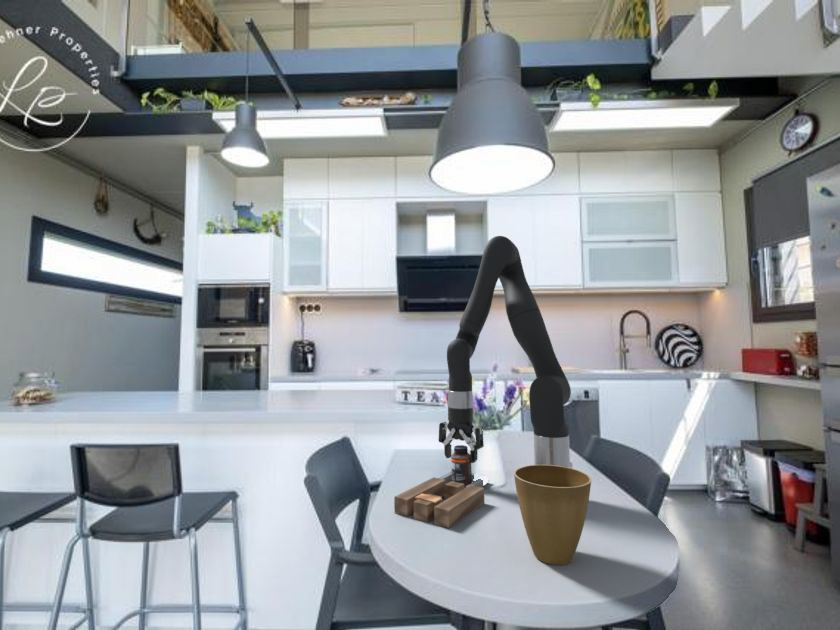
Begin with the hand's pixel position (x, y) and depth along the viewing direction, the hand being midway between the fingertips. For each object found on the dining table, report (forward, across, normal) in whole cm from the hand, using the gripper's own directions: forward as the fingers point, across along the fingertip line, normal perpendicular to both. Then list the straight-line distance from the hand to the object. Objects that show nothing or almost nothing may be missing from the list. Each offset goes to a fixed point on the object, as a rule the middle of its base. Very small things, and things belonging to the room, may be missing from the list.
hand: (460, 459), depth 129 cm
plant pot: (+7, -37, +26) cm, 46 cm away
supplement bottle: (+8, -1, 0) cm, 8 cm away
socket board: (+7, -5, +18) cm, 20 cm away
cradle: (+7, -1, 0) cm, 7 cm away
